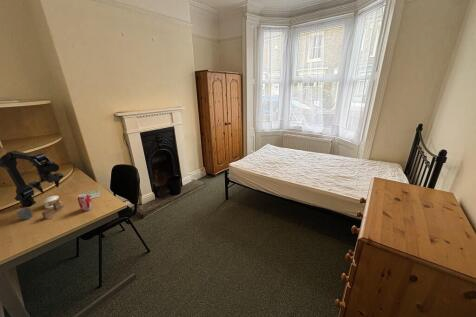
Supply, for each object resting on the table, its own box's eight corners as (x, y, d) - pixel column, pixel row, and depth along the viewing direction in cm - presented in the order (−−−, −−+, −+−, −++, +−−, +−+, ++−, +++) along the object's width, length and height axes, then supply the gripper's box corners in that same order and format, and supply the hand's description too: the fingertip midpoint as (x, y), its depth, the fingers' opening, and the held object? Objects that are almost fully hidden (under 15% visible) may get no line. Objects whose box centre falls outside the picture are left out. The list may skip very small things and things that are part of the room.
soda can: (95, 207, 144) (90, 193, 140) (84, 213, 138) (80, 198, 134) (89, 205, 147) (85, 191, 143) (79, 210, 141) (74, 196, 137)
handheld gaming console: (84, 199, 152) (84, 192, 164) (85, 201, 153) (84, 194, 164) (99, 195, 158) (98, 188, 169) (100, 197, 159) (98, 190, 170)
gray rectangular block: (21, 220, 131) (17, 212, 128) (25, 217, 134) (21, 208, 132) (28, 219, 132) (24, 211, 129) (32, 216, 135) (28, 207, 133)
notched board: (40, 220, 131) (37, 213, 129) (55, 207, 145) (53, 200, 143) (51, 219, 132) (48, 212, 130) (65, 205, 147) (62, 199, 145)
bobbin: (42, 209, 143) (39, 202, 141) (50, 202, 151) (47, 196, 149) (56, 207, 145) (53, 201, 143) (63, 201, 153) (61, 194, 151)
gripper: (34, 178, 127) (42, 198, 132) (65, 167, 143) (71, 186, 149) (23, 175, 130) (32, 196, 135) (55, 165, 146) (61, 184, 152)
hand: (50, 190), depth 143 cm, fingers open, 9 cm apart
